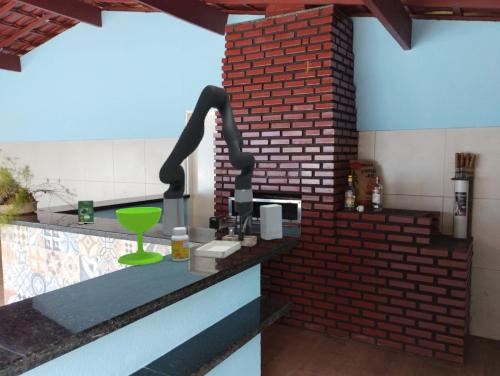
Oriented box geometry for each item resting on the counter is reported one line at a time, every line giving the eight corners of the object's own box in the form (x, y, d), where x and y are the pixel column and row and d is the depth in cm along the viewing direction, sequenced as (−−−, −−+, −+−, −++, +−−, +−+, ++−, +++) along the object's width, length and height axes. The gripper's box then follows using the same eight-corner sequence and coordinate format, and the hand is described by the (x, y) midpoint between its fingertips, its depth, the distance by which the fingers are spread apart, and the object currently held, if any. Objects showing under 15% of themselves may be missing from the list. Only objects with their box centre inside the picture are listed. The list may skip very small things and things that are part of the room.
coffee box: (93, 222, 238) (92, 199, 237) (94, 223, 235) (93, 200, 234) (78, 224, 234) (77, 200, 233) (79, 224, 232) (77, 201, 230)
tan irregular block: (221, 245, 174) (220, 238, 174) (228, 241, 181) (227, 234, 181) (250, 247, 170) (250, 239, 169) (256, 243, 177) (256, 236, 177)
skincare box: (276, 236, 192) (275, 203, 190) (282, 238, 186) (282, 205, 185) (259, 238, 188) (259, 205, 187) (266, 240, 182) (265, 206, 181)
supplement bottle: (167, 260, 151) (167, 228, 150) (180, 256, 156) (179, 226, 155) (180, 262, 147) (179, 230, 146) (192, 258, 152) (192, 227, 151)
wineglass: (108, 263, 147) (106, 212, 145) (132, 253, 162) (131, 206, 161) (149, 266, 143) (147, 213, 141) (170, 255, 158) (169, 207, 156)
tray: (194, 256, 155) (194, 249, 155) (214, 246, 172) (214, 240, 172) (223, 258, 152) (223, 251, 151) (240, 248, 168) (240, 241, 168)
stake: (228, 243, 177) (227, 227, 176) (229, 242, 178) (229, 226, 178) (233, 244, 176) (233, 227, 175) (235, 243, 178) (234, 227, 177)
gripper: (241, 198, 182) (242, 235, 183) (228, 201, 168) (229, 241, 170) (257, 198, 179) (258, 236, 181) (246, 202, 166) (247, 242, 167)
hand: (244, 238), depth 175 cm, fingers open, 8 cm apart
